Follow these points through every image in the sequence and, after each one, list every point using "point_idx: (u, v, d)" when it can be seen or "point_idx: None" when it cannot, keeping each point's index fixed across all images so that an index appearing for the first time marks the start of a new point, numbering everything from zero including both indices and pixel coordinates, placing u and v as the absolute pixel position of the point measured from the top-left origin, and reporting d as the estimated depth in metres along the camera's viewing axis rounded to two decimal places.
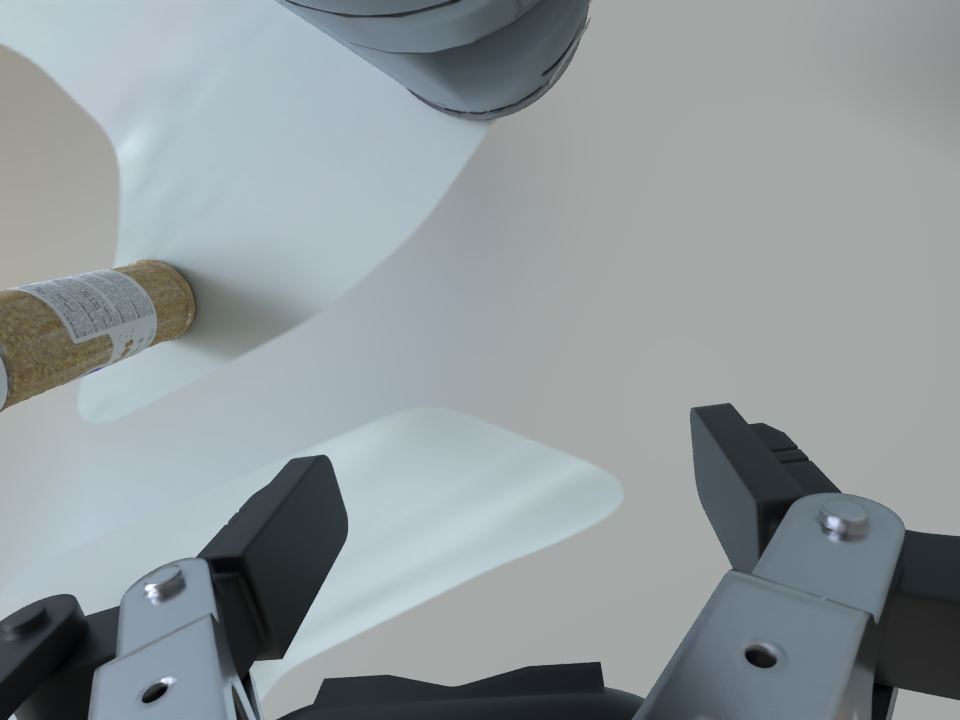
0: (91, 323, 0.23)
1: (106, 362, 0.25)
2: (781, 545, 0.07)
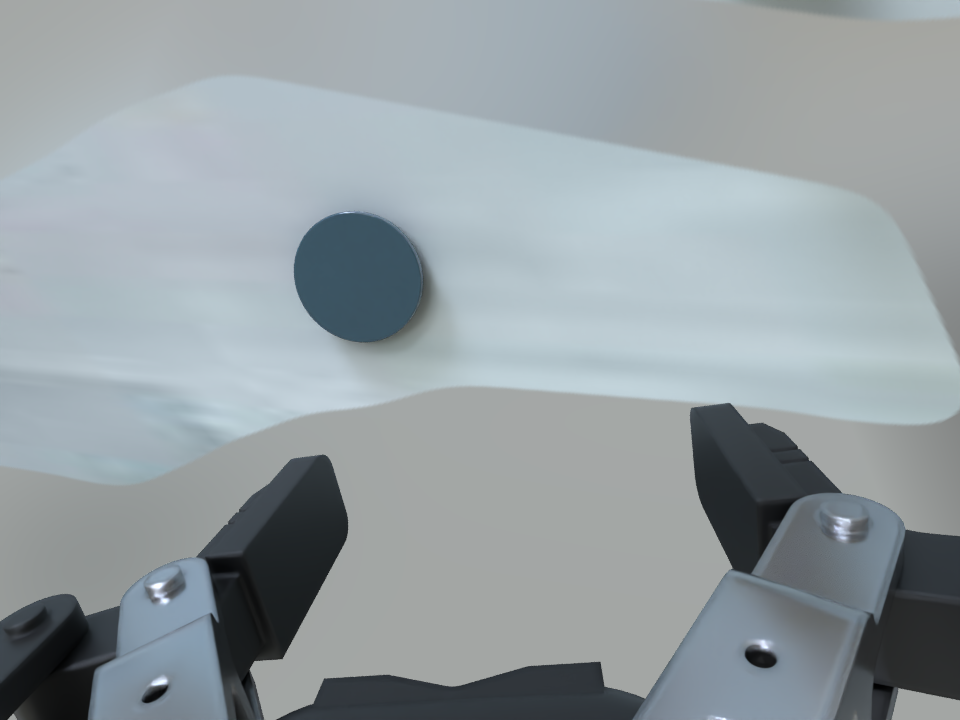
0: None
1: None
2: (781, 545, 0.07)
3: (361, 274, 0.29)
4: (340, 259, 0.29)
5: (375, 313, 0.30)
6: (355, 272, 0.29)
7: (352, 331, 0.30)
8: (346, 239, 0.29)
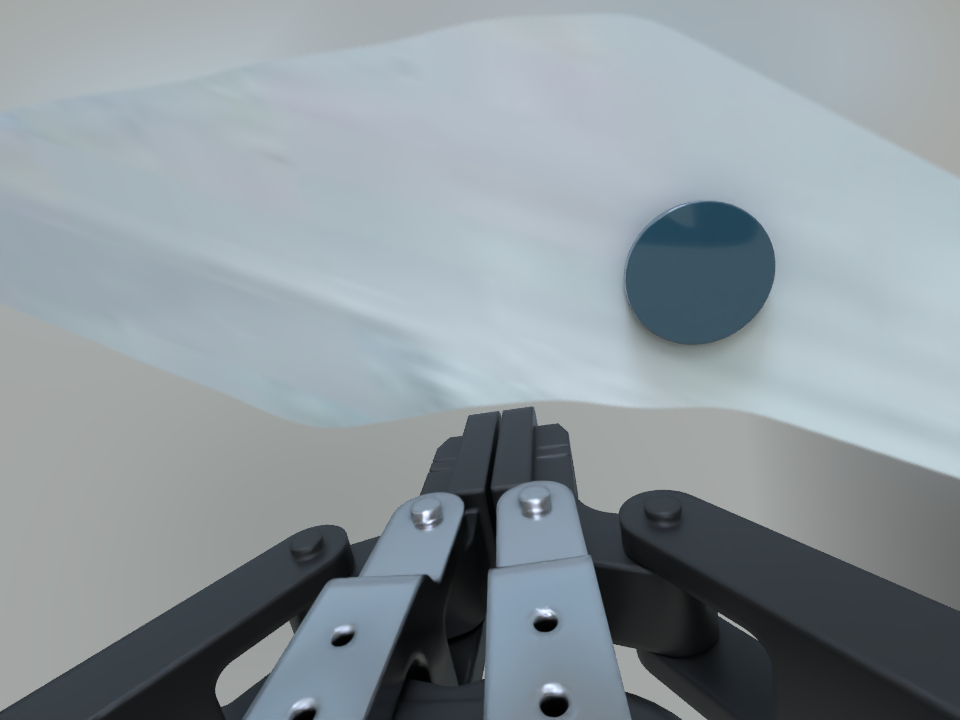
0: None
1: None
2: (505, 538, 0.08)
3: (707, 271, 0.27)
4: (692, 250, 0.26)
5: (703, 316, 0.27)
6: (701, 268, 0.27)
7: (667, 328, 0.28)
8: (709, 231, 0.26)
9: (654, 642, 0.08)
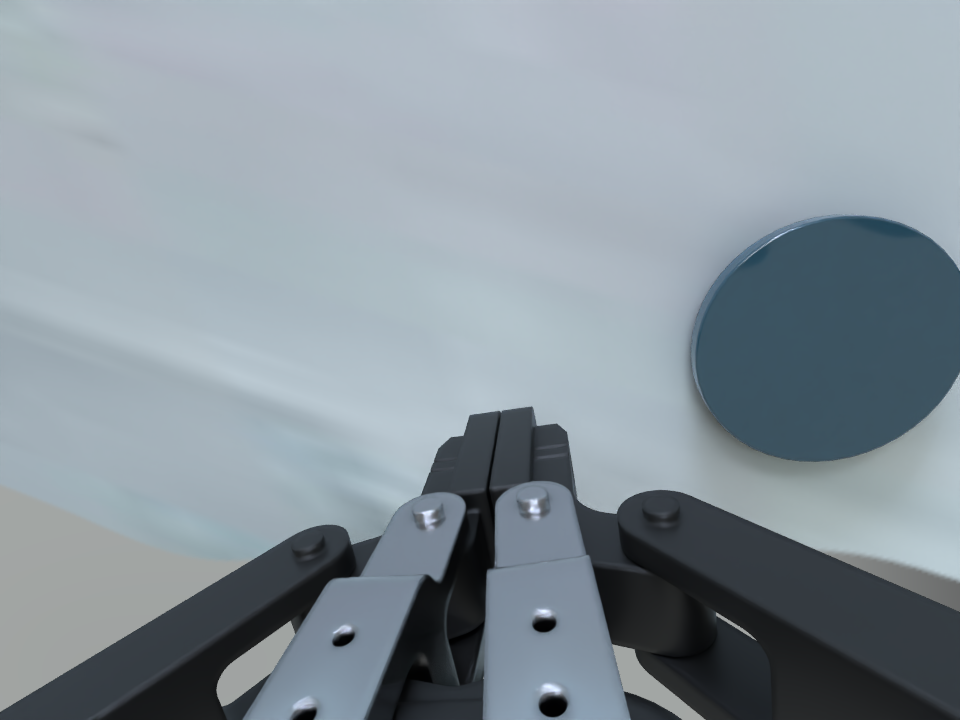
0: None
1: None
2: (504, 538, 0.08)
3: (845, 341, 0.15)
4: (819, 303, 0.15)
5: (831, 415, 0.16)
6: (834, 335, 0.15)
7: (766, 435, 0.16)
8: (853, 270, 0.14)
9: (652, 642, 0.08)
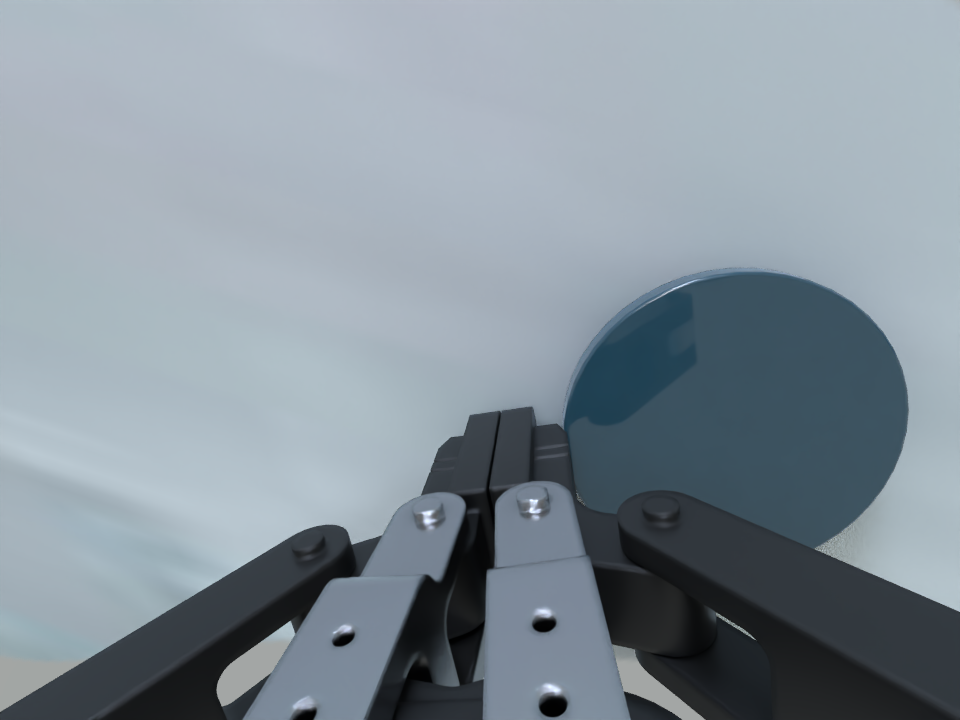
0: None
1: None
2: (503, 538, 0.08)
3: (748, 428, 0.12)
4: (713, 381, 0.11)
5: None
6: (735, 420, 0.12)
7: None
8: (754, 340, 0.11)
9: (652, 642, 0.08)
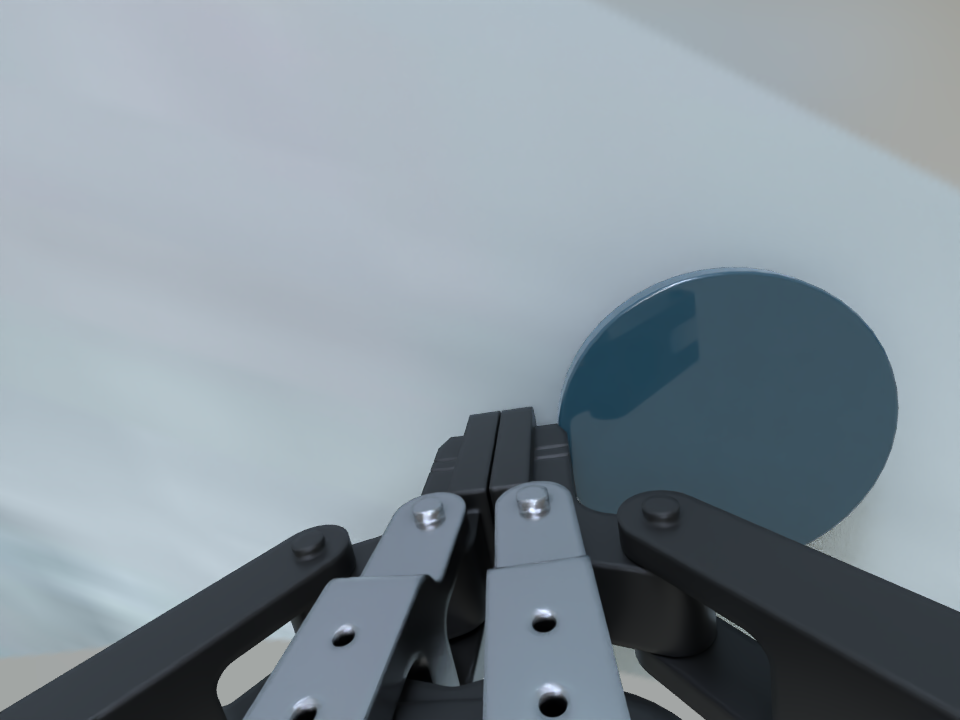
0: None
1: None
2: (503, 538, 0.08)
3: (740, 425, 0.12)
4: (705, 379, 0.12)
5: None
6: (727, 418, 0.12)
7: None
8: (745, 338, 0.11)
9: (651, 641, 0.08)
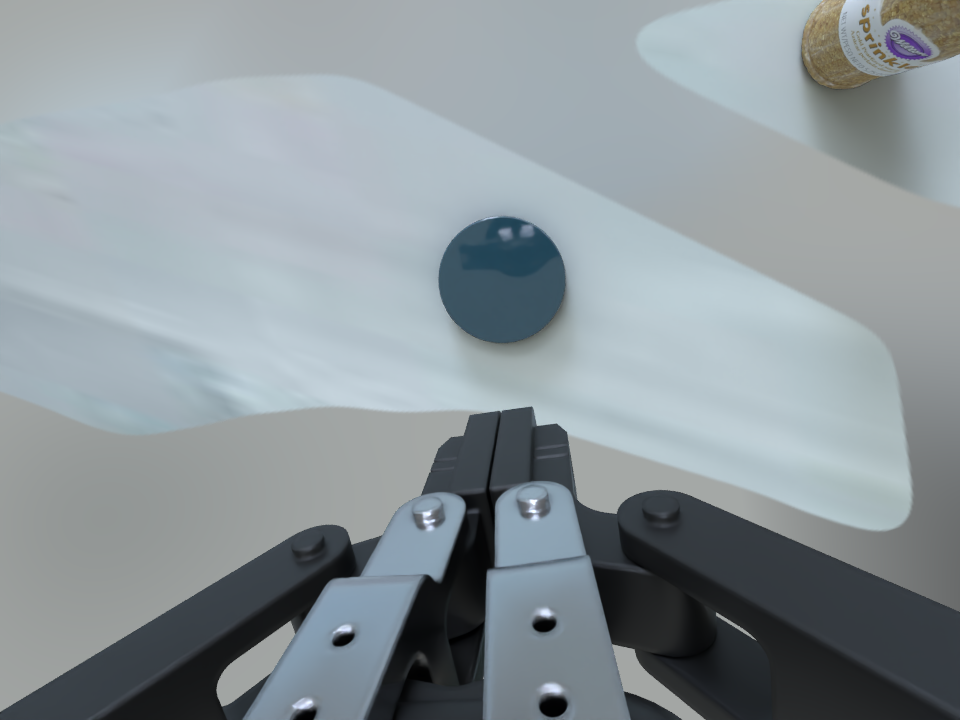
0: None
1: (921, 61, 0.21)
2: (504, 538, 0.08)
3: (507, 278, 0.30)
4: (492, 259, 0.30)
5: (508, 317, 0.31)
6: (502, 275, 0.30)
7: (480, 329, 0.31)
8: (504, 242, 0.30)
9: (652, 642, 0.08)
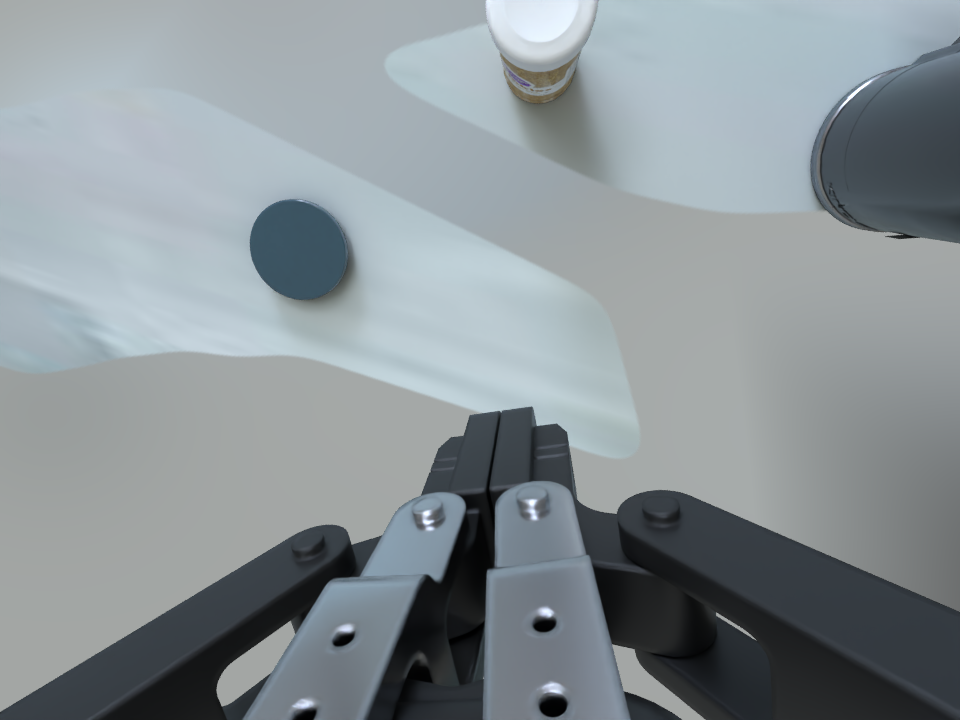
0: (574, 65, 0.28)
1: (534, 87, 0.29)
2: (504, 538, 0.08)
3: (301, 248, 0.39)
4: (288, 233, 0.38)
5: (305, 279, 0.39)
6: (297, 245, 0.39)
7: (285, 288, 0.40)
8: (296, 220, 0.38)
9: (652, 642, 0.08)
